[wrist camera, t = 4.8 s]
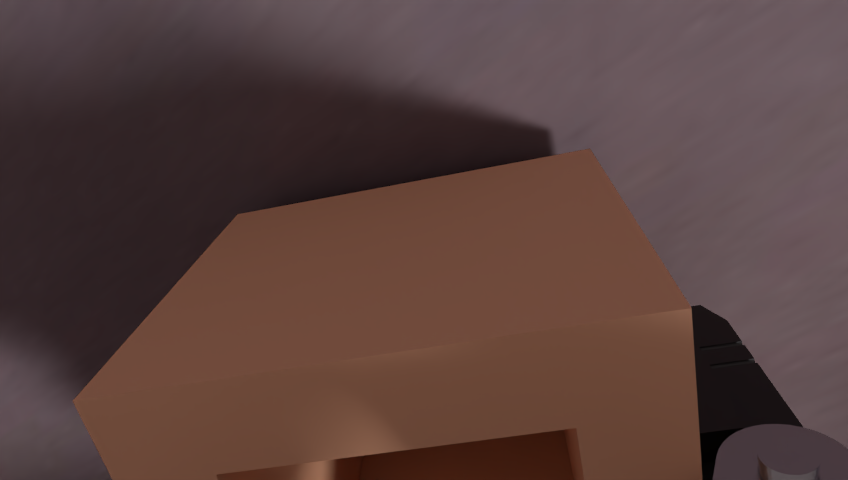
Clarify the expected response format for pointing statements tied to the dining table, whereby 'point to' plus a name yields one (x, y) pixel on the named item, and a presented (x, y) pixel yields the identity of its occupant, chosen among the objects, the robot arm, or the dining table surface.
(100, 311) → the dining table surface
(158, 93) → the dining table surface
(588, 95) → the dining table surface
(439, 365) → the ring block
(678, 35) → the dining table surface
